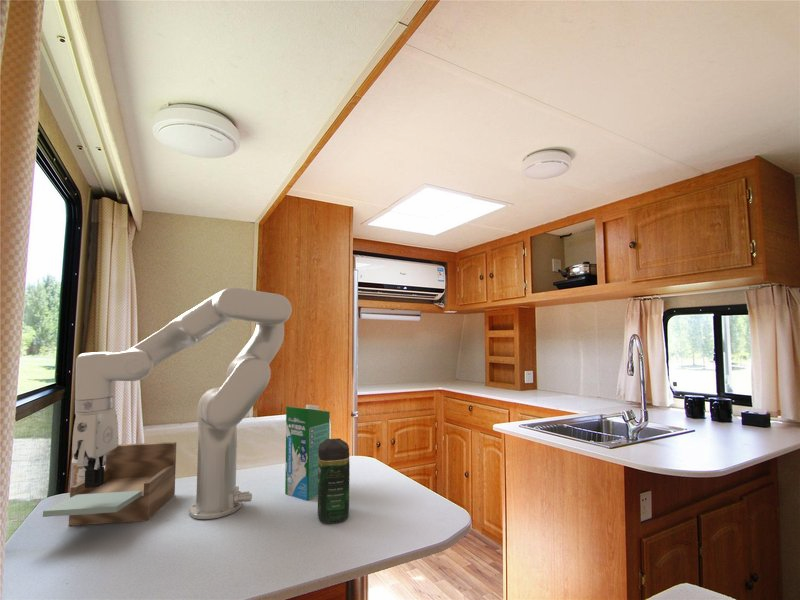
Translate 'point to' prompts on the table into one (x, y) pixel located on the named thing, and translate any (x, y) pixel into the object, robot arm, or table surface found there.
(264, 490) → the table surface
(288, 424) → the milk carton
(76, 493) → the tray
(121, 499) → the panel
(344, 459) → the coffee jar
